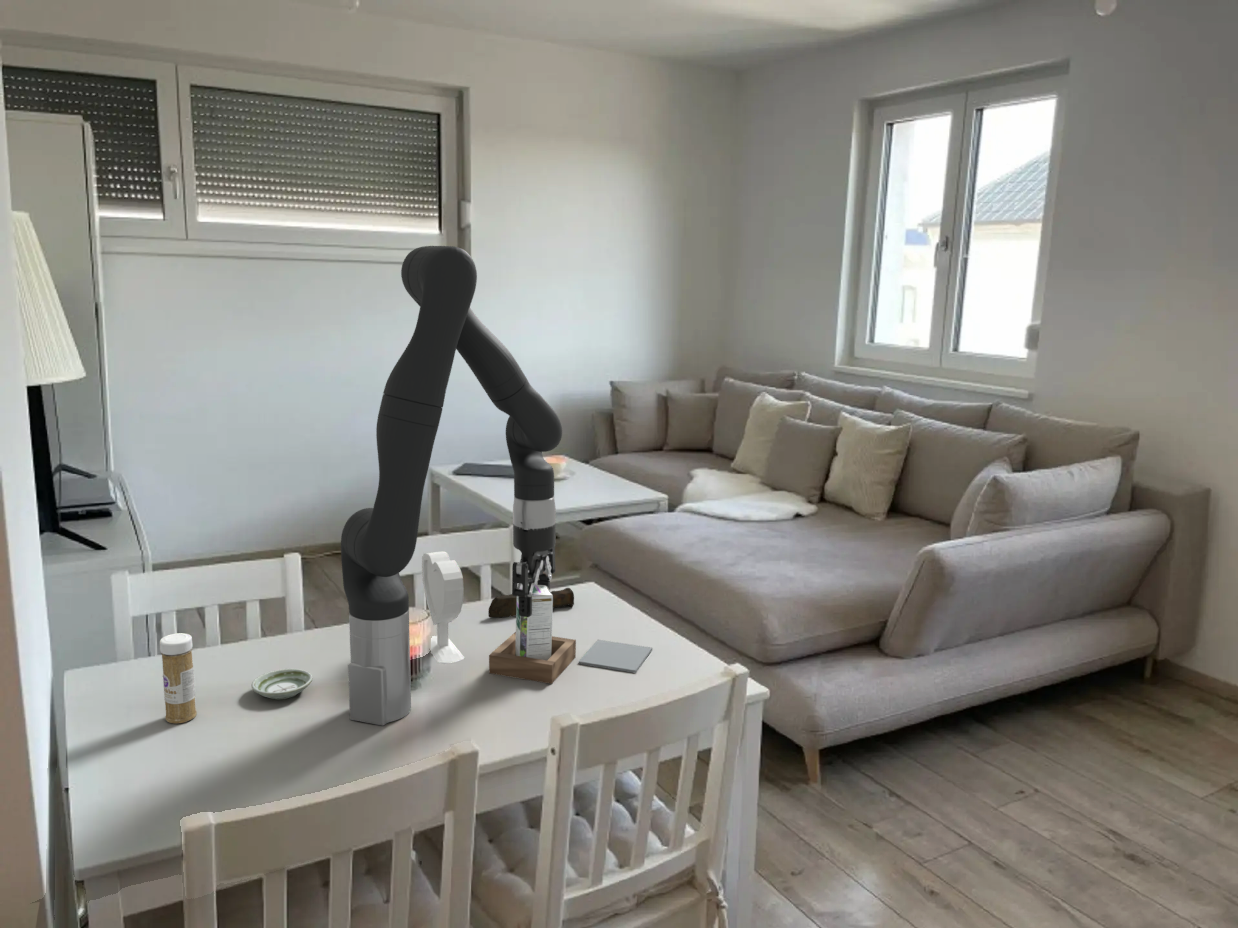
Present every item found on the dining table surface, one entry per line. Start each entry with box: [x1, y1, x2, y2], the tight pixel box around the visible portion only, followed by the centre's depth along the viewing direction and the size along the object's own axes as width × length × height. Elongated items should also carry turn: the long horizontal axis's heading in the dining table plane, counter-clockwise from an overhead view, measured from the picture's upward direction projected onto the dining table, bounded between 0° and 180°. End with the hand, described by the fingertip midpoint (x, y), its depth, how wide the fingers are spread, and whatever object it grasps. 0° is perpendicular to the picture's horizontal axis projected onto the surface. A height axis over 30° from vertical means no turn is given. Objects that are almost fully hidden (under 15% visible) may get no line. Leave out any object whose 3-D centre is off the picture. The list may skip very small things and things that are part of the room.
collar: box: [488, 631, 577, 685], centre depth 168 cm, size 12×12×4 cm
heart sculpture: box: [421, 551, 465, 664], centre depth 172 cm, size 16×5×18 cm, turn 27°
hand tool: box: [488, 587, 575, 619], centre depth 195 cm, size 19×4×5 cm, turn 117°
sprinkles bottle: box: [159, 632, 198, 724], centre depth 144 cm, size 5×5×13 cm
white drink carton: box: [515, 584, 554, 660], centre depth 167 cm, size 6×6×14 cm
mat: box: [578, 639, 653, 674], centre depth 173 cm, size 11×11×1 cm
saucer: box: [251, 668, 314, 700], centre depth 155 cm, size 10×10×2 cm
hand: (534, 607), depth 166 cm, fingers open, 8 cm apart
